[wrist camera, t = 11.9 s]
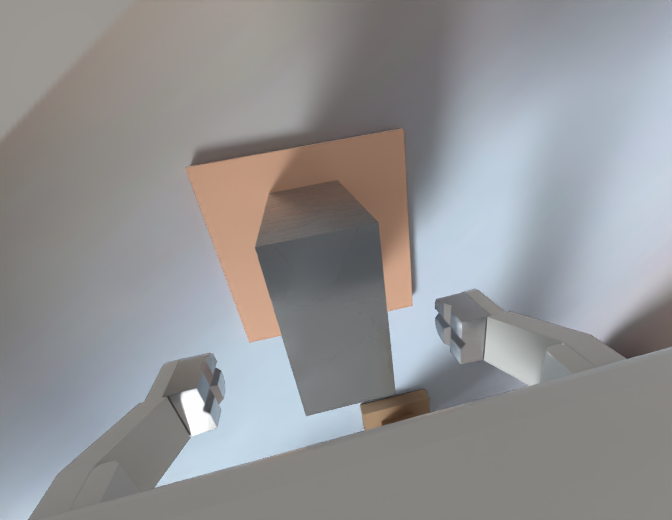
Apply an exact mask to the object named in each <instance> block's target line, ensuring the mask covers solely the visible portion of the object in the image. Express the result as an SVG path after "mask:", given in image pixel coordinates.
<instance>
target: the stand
mask: <svg viewBox="0 0 672 520" xmlns="http://www.w3.org/2000/svg"><path fill="white" fill-rule="evenodd" d="M360 407H361V412H362V418H363V424H364V430H369V429H372V428H376V427H380V426H383V425H387V424H391V423H394V422H398V421H402V420H405V419H409V418H413V417H416V416H420V415H424V414H428V413H429V397H428V395H427V393H426V391H425V389H422V390H418V391H414V392H410V393H406V394H402V395H398V396H394V397H390V398H386V399H382V400H377V401H373V402H369V403H365V404H361V405H360Z"/></svg>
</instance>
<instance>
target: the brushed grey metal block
mask: <svg viewBox="0 0 672 520" xmlns="http://www.w3.org/2000/svg"><path fill="white" fill-rule="evenodd" d="M255 250H256V253H257V256H258V260H259V263H260V266H261V269H262V273H263V276H264V279H265V283H266V286H267V289H268V292H269V296H270V299H271V302H272V306H273V309H274V312H275V315H276V319H277V322H278V325H279V329H280V332H281V335H282V338H283V342H284V345H285V348H286V352H287V355H288V358H289V361H290V365H291V368H292V371H293V375H294V378H295V381H296V384H297V388H298V391H299V394H300V397H301V401H302V404H303V407H304V411H305V414H306V416H309V415H313V414H317V413H321V412H325V411H329V410H333V409H337V408H341V407H345V406H349V405H353V404H357V403H361V402H365V401H369V400H373V399H377V398H381V397H385V396H389V395H393V394H395V384H394V374H393V364H392V354H391V343H390V333H389V323H388V313H387V303H386V293H385V283H384V273H383V263H382V253H381V243H380V232H379V222H378V221H377V220H376V219H375V218H374V217H373V216H372V215H371V214H370V213H369V212H368V211H367V210H366V209H365V208H364V207H363V206H362V205H361V204H360V203H359V202H358V201H357V199H356V198H355V197H354V196H353V195H352V194H351V193H350V192H349V191H348V190H347V189H346V188H345V187H344V186H343V185H342V184H341V183H340V182H339V181H338V180H335V181H330V182H325V183H319V184H314V185H309V186H304V187H298V188H293V189H288V190H283V191H278V192H272V193H269V195H268V198H267V202H266V206H265V210H264V214H263V218H262V222H261V226H260V229H259V233H258V237H257V241H256V245H255Z"/></svg>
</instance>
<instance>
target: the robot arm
mask: <svg viewBox="0 0 672 520" xmlns="http://www.w3.org/2000/svg"><path fill="white" fill-rule="evenodd" d="M435 309H436V310H437V311H438V312H439V313H438V315H437V316H436V318H435V324H436V329H437V332H438V334H439V336H440V338H441V340H442V341H443V342H444V343H445V344H448V345H450V352H451V353H452V354H453V356H454V357H455V358H456V360H457V361H458V362H459V363H460V365H462V364H466V363H470V362H475V361H479V360H483V359H484V361H486V362H488V363H489V364H491V365H493V366H495V367H497V368H498V369H500V370H502V371H504V372H506V373H508V374H509V375H511V376H513V377H515V378H517V379H518V380H520V381H522V382H524V383H526V384H528V385H529V386H526V387H523V388H519V389H515V390H512V391H508V392H504V393H501V394H497V395H494V396H490V397H486V398H483V399H479V400H475V401H472V402H468V403H464V404H461V405H457V406H453V407H450V408H446V409H442V410H439V411H435V412H431V413H428V414H424V415H420V416H416V417H413V418H409V419H405V420H402V421H398V422H394V423H391V424H387V425H383V426H380V427H376V428H372V429H369V430H365V431H361V432H358V433H354V434H351V435H347V436H343V437H340V438H336V439H332V440H329V441H325V442H321V443H318V444H314V445H310V446H307V447H303V448H299V449H296V450H292V451H288V452H285V453H281V454H277V455H274V456H270V457H266V458H263V459H259V460H255V461H252V462H248V463H244V464H241V465H237V466H233V467H230V468H226V469H222V470H219V471H215V472H211V473H208V474H204V475H200V476H197V477H193V478H190V479H186V480H182V481H179V482H175V483H171V484H168V485H164V486H160V487H157V488H154V487H155V486H156V485H157V483H158V482H159V480H160V479H161V478H162V476H163V475H164V474H165V472H166V471H167V469H168V468H169V467H170V465H171V464H172V462H173V461H174V460H175V458H176V457H177V456H178V454H179V453H180V451H181V450H182V449H183V447H184V446H185V445H186V443H187V442H188V440H189V439H190V438H191V437H190V436H192V435H196V434H199V433H202V432H206V431H209V430H213V429H216V428H217V427H218V423H219V418H220V414H221V408H220V406H219V404H220V402H221V401H222V400H223V399H224V395H225V381H224V376H223V374H222V372H221V370H219V369H217V368H215V366H216V362H217V361H216V359H215V357H214V355H213V354H212V353H206V354H202V355H197V356H193V357H188V358H183V359H180V360H175V361H171V362H167V363H165V364H164V365H163V366H162V368H161V370H160V372H159V374H158V375H157V377H156V379H155V381H154V383H153V385H152V387H151V389H150V391H149V393H148V395H147V397H146V399H145V401H144V402H142V403H139V404H138V405H137V406H135V407H134V408H133V409H132V410H131V411H130V412H128V413H127V414H126V415H125V416H124V417H123V418H122V419H120V420H119V421H118V422H117V423H116V424H115V425H114V426H112V427H111V428H110V429H109V430H108V431H107V432H105V433H104V434H103V435H102V436H101V437H100V438H99V439H97V440H96V441H95V442H94V443H93V444H92V445H91V446H89V447H88V448H87V449H86V450H85V451H84V452H83V453H81V454H80V455H79V456H78V457H77V458H76V459H74V460H73V461H72V462H71V463H70V464H69V465H68V466H66V467H65V468H64V469H63V470H62V471H61V472H60V473H58V474H57V476H56V478H55V479H54V481H53V482H52V484H51V485H50V487H49V488H48V490H47V491H46V493H45V494H44V496H43V498H42V499H41V501H40V502H39V504H38V505H37V507H36V508H35V510H34V511H33V513H32V514H31V516H30V517H29V519H28V520H672V347H669V348H666V349H662V350H658V351H655V352H651V353H647V354H644V355H640V356H636V357H633V358H629V359H626V358H625V357H623V356H622V355H620V354H619V353H618V352H616V351H615V350H613V349H612V348H610V347H609V346H607V345H606V344H604V343H603V342H601V341H600V340H598V339H597V338H595V337H594V336H592V335H590V334H587V333H583V332H580V331H576V330H573V329H569V328H566V327H563V326H559V325H556V324H552V323H549V322H545V321H542V320H538V319H535V318H531V317H528V316H525V315H521V314H518V313H514V312H511V311H509V312H505V311H504V310H503V309H501V308H500V307H499V306H498V305H496V304H495V303H494V302H493V301H491V300H490V299H489V298H488V297H486V296H485V295H484V294H483V293H482V292H480V291H479V290H477V289H472V290H468V291H464V292H462V293H458V294H454V295H450V296H446V297H442V298H438V299H436V301H435Z"/></svg>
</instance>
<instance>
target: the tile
mask: <svg viewBox="0 0 672 520" xmlns="http://www.w3.org/2000/svg"><path fill="white" fill-rule="evenodd" d="M186 171H187V174H188V176H189V179H190V182H191V184H192V187H193V190H194V193H195V195H196V198H197V201H198V204H199V206H200V209H201V212H202V214H203V217H204V220H205V223H206V225H207V228H208V231H209V234H210V236H211V239H212V242H213V244H214V247H215V250H216V253H217V255H218V258H219V261H220V264H221V266H222V269H223V272H224V274H225V277H226V280H227V283H228V285H229V288H230V291H231V293H232V296H233V299H234V302H235V304H236V307H237V310H238V313H239V315H240V318H241V321H242V323H243V326H244V329H245V332H246V334H247V337H248V340H249V343H250V342H254V341H259V340H263V339H267V338H272V337H276V336H281V332H280V329H279V325H278V322H277V319H276V315H275V312H274V309H273V306H272V302H271V299H270V296H269V292H268V289H267V286H266V283H265V279H264V276H263V273H262V269H261V266H260V263H259V260H258V256H257V253H256V250H255V245H256V241H257V237H258V233H259V229H260V226H261V222H262V218H263V214H264V210H265V206H266V202H267V198H268V195H269V193H272V192H278V191H283V190H288V189H293V188H298V187H304V186H309V185H314V184H319V183H325V182H330V181H335V180H338V181H339V182H340V183H341V184H342V185H343V186H344V187H345V188H346V189H347V190H348V191H349V192H350V193H351V194H352V195H353V196H354V197H355V198H356V199H357V201H358V202H359V203H360V204H361V205H362V206H363V207H364V208H365V209H366V210H367V211H368V212H369V213H370V214H371V215H372V216H373V217H374V218H375V219H376V220H377V221H378V222H379V232H380V243H381V253H382V263H383V273H384V283H385V293H386V303H387V311H391V310H396V309H400V308H405V307H409V306H413V303H412V283H411V263H410V242H409V222H408V202H407V182H406V162H405V142H404V129H394V130H388V131H383V132H377V133H371V134H366V135H360V136H355V137H349V138H343V139H338V140H332V141H327V142H321V143H315V144H310V145H304V146H299V147H293V148H287V149H282V150H276V151H271V152H265V153H259V154H254V155H248V156H243V157H237V158H231V159H226V160H220V161H215V162H209V163H203V164H198V165H192V166H188V167H186Z"/></svg>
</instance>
